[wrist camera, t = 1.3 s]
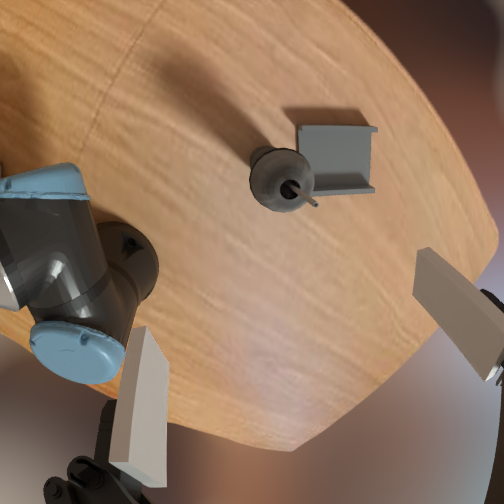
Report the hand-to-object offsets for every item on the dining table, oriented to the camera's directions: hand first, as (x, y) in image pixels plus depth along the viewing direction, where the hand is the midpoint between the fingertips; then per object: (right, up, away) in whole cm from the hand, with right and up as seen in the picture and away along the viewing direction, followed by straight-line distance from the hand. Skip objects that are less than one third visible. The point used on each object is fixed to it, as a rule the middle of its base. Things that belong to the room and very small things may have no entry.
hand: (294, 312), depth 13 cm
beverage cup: (0, +16, +30) cm, 34 cm away
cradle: (+11, +17, +30) cm, 36 cm away
